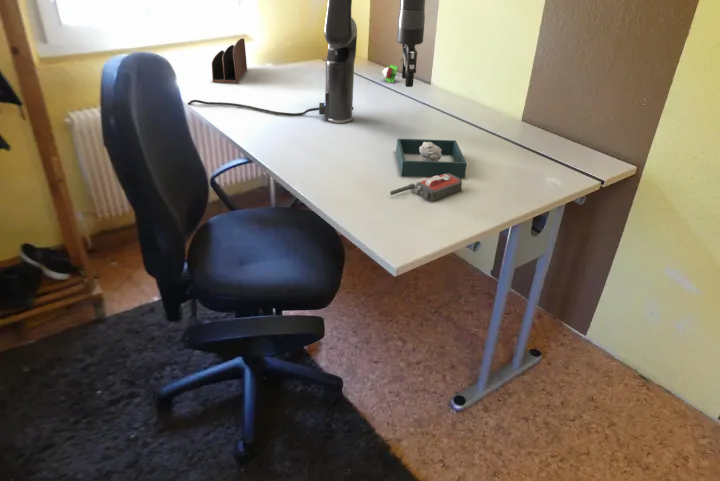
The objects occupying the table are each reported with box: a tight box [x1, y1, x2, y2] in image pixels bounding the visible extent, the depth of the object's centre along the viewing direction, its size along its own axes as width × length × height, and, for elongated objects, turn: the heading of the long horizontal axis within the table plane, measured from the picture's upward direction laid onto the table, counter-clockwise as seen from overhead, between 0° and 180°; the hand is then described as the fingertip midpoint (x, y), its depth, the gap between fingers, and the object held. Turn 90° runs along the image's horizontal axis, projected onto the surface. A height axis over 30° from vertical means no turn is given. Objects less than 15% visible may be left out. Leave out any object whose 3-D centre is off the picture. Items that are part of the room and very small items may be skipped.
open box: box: [395, 138, 468, 179], centre depth 157 cm, size 18×17×4 cm
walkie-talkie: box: [389, 173, 463, 202], centre depth 142 cm, size 9×4×20 cm
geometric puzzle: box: [381, 64, 401, 84], centre depth 227 cm, size 7×7×8 cm
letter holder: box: [211, 37, 248, 84], centre depth 220 cm, size 10×20×14 cm, turn 179°
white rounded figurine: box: [419, 142, 442, 161], centre depth 157 cm, size 6×7×7 cm
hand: (407, 82), depth 164 cm, fingers open, 8 cm apart
